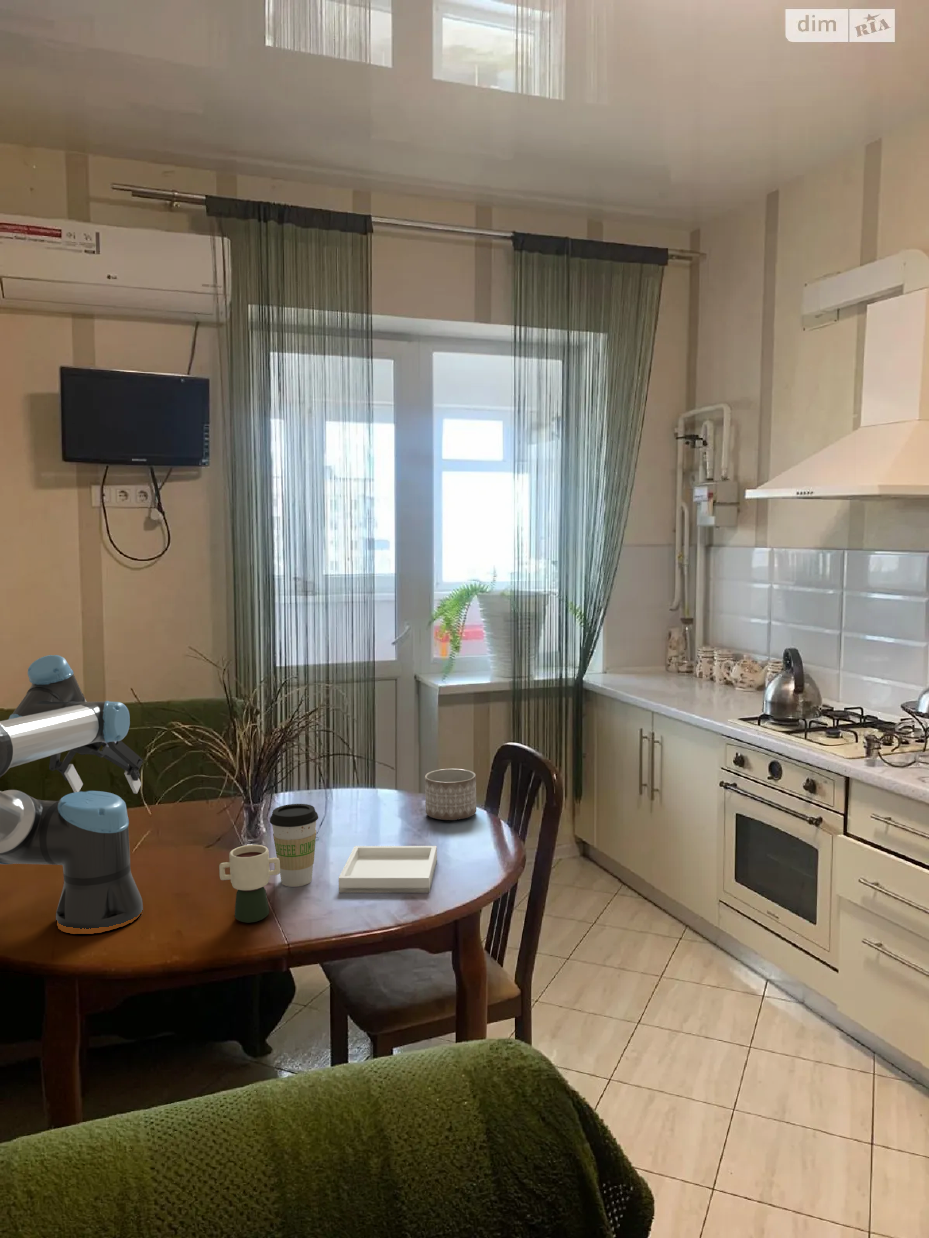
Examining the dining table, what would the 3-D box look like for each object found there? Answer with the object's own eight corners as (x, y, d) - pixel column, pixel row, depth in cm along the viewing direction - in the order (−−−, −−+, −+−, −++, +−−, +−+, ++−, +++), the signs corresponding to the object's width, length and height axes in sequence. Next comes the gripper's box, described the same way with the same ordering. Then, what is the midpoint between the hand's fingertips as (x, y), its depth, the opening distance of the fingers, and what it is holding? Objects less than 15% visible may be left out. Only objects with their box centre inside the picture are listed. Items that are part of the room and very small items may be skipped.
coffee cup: (283, 894, 178) (280, 820, 177) (265, 878, 186) (261, 808, 185) (328, 882, 183) (325, 811, 182) (309, 868, 192) (306, 799, 190)
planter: (415, 816, 225) (414, 775, 224) (452, 804, 234) (451, 765, 233) (449, 827, 216) (448, 785, 215) (486, 815, 225) (486, 774, 224)
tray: (429, 892, 177) (428, 877, 177) (339, 892, 178) (338, 877, 178) (437, 859, 195) (436, 845, 195) (355, 859, 196) (354, 846, 196)
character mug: (281, 907, 172) (278, 841, 170) (282, 923, 165) (279, 854, 164) (223, 913, 170) (219, 847, 168) (220, 930, 163) (217, 860, 161)
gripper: (138, 706, 186) (168, 775, 199) (25, 707, 189) (62, 775, 202) (124, 732, 180) (156, 801, 193) (8, 733, 183) (47, 801, 196)
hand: (108, 788), depth 197 cm, fingers open, 13 cm apart
